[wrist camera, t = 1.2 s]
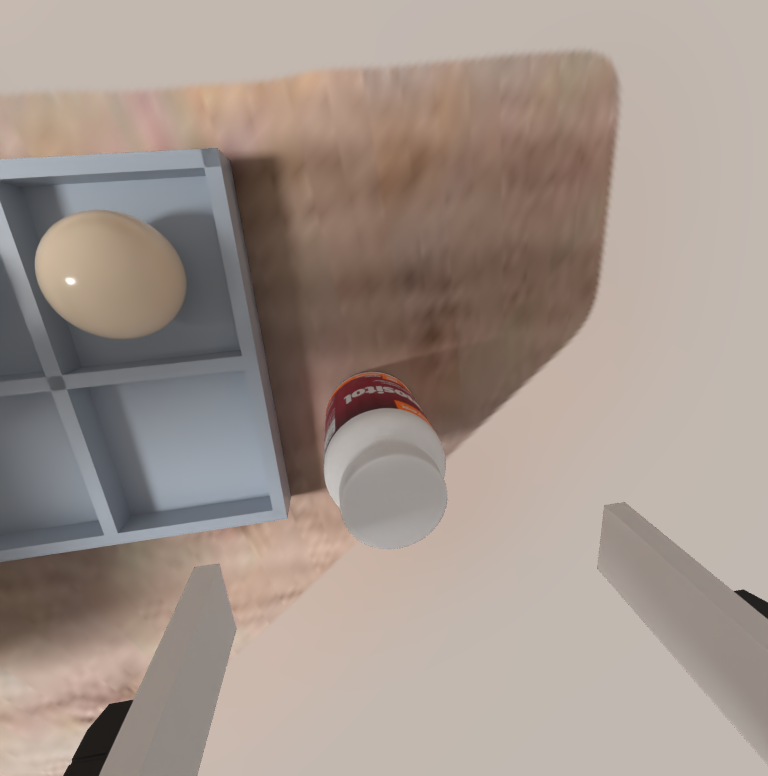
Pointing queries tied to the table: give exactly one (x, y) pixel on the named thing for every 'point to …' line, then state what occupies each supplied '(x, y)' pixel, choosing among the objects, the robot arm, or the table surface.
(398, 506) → the pill bottle
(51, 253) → the egg brown
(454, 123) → the table surface
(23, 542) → the divided tray
